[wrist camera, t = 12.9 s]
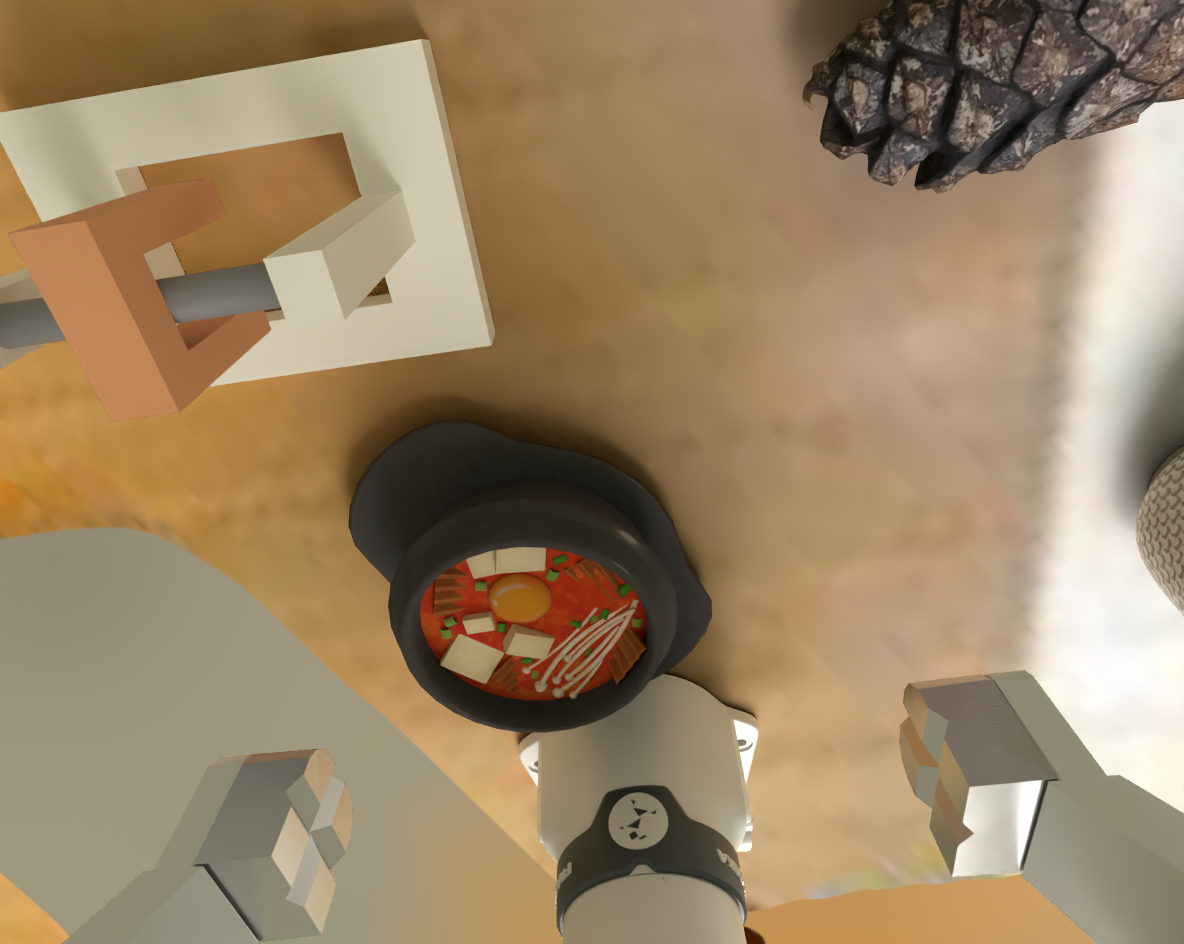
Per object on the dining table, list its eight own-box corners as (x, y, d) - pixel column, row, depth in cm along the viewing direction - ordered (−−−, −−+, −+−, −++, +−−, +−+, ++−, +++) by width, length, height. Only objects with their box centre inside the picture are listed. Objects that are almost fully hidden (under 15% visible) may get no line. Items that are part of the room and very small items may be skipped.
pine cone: (760, 68, 33) (822, 72, 24) (1158, -239, 28) (1416, -371, 19) (856, 252, 37) (939, 311, 29) (1217, 15, 32) (1449, 1, 24)
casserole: (769, 569, 48) (803, 660, 41) (588, 712, 55) (589, 812, 48) (471, 335, 39) (446, 398, 32) (301, 540, 46) (249, 630, 39)
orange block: (271, 329, 32) (179, 412, 25) (218, 337, 32) (111, 422, 25) (211, 177, 29) (85, 220, 21) (152, 187, 29) (7, 233, 22)
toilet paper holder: (429, 39, 32) (337, 30, 20) (495, 332, 39) (456, 455, 27) (17, 111, 34) (-301, 143, 21) (152, 383, 41) (-30, 521, 28)
